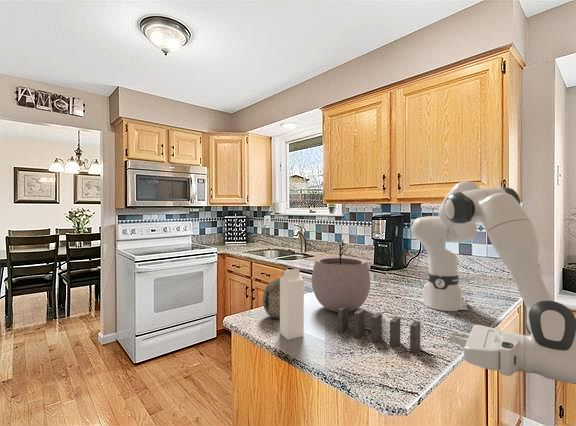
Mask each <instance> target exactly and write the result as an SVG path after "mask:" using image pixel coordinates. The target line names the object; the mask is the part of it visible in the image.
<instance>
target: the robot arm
mask: <svg viewBox="0 0 576 426" xmlns="http://www.w3.org/2000/svg"><path fill="white" fill-rule="evenodd" d="M437 214H438V215H436V216H434V215H431V216H430V215H427V216H421V217H417V218H415V219H414V221H413V222H412V224H411V233H412V235H413V237H414V239H416V240H417V241H419V242H420V244H422V246H423V247H424V248H425V251H426V252H427V253H426V254H427V257H428V272H427V282H426V283H425V284H423V285H424V286H423V294H422V295H423V297H422V298H421V299H419V303H420V304H423V305H424V306H426V307H428V308H429V309H433V310H437V311H442V312H443V311H444V312H459V311H458V310H467V311H468V307H467V306H468V305H467V303H466V302H467V301H466V299H464V297H462V296H463V293H462V292H463V290H462V288H461V287H460V283H459V282H460V281H459V280H460V278H459V275H458V261H459V260H458V257H457V255H456V254H455V253H454V252H453V251H450V250H449V249H446V248H445V246H444V243H448V242H449V243H461V242H462V243H463V242H469V241H472V240H474V239H475V237H476V235H477V233H478V226H477V223H482V224H483V226H484V229H485V232H486V235H487V237H488V240H489V242H490V243H491V245H492V247H493V248H494V249H493V250H495V252H496V253H497V255H498V256H499V257H500V259H501V261H502V262H503V263H504V264H505V266H506V268H507V269H508V270H509V272H510V274H511V275H512V277H513V279H514V281H515V284H516V286H517V289H518V291H519V293H520V296H521V298H522V301H523V303H524V307H525V312H526V313H525V321H524V322H525V329H526V331H527V333H528V335H527V334H526V335H524V334H520V333H515V332H510V331H506V330H505V331H504V330H503V331H502V330H500V329H497V328H494V327H490V326H486V325H482V324H473V325H472V328H471V330H470V333H467V332H453V331H452V332H450V335H449V342H450V343H455V344H456V345H459V346H460V347H462V348H463V360H464V361H465V362H467V363H468V364H470V365H473V366H477V367H480V368H481V369H486V370H490V371H499V373H500V374H501V375H503V376H506V377H510V376H512V375H514V374H515V373H518V372H521V373H522V372H523V373H525V374H535V375H539V376H542V377H544V378H546V379H548V380H552V381H556V382H560V383H565V384H571V385H576V316H575V314H574V312H573V311H572V310H571V309H570V308H569V307H568V306H566V305H565V304H562V303H560V302H557V301H554V300H552V298H551V296H550V293H549V291H548V289H547V287H546V285H545V283H544V282H545V281H544V280H543V278H542V276H541V275H542V274H541V272H540V267H539V251H540V248H539V247H540V246H539V242H538V241H539V240H538V237H537V234H536V231H535V230H536V229H535V228H534V226H533V224H532V222H531V219H530V217H529V216H528V214H527V213H526V211H525V210H524V208H523V206H522V205H521V198H520V195H519V194H518V193H517V191H515V190H514V189H513V188H510V187H505V186H496V187H484V188H480V186H479V185H478V184H476V183H475V182H472V181H469V180H464V181H460V182H458V183H456V184H455V185H454V186H453V187H452V188H451V189H450V190H449V191H448V192H447V194H446V195H445V197H444V198H443V201H442V202H441V203H440V206H439V208H438V213H437Z"/></svg>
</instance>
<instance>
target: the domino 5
mask: <svg viewBox="0 0 576 426" xmlns="http://www.w3.org/2000/svg"><path fill="white" fill-rule="evenodd" d="M409 328H410V330H409V352H410V353H413V354H417V353H418V351H419V350H420V348H421V321H419V320H414V321H412V323H411V324H410V325H409Z"/></svg>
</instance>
